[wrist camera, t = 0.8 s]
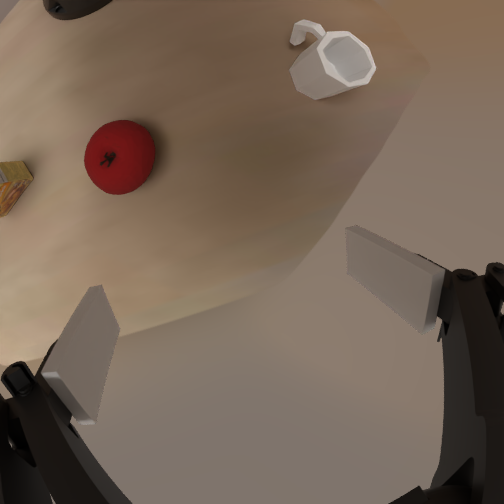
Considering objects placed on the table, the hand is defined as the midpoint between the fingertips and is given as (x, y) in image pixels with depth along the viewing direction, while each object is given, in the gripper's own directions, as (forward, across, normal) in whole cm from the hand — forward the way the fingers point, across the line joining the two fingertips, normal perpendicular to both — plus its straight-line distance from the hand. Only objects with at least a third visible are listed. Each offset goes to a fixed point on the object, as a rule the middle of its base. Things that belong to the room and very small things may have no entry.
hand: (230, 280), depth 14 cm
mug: (+27, +19, +18) cm, 37 cm away
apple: (+27, -9, +8) cm, 29 cm away
